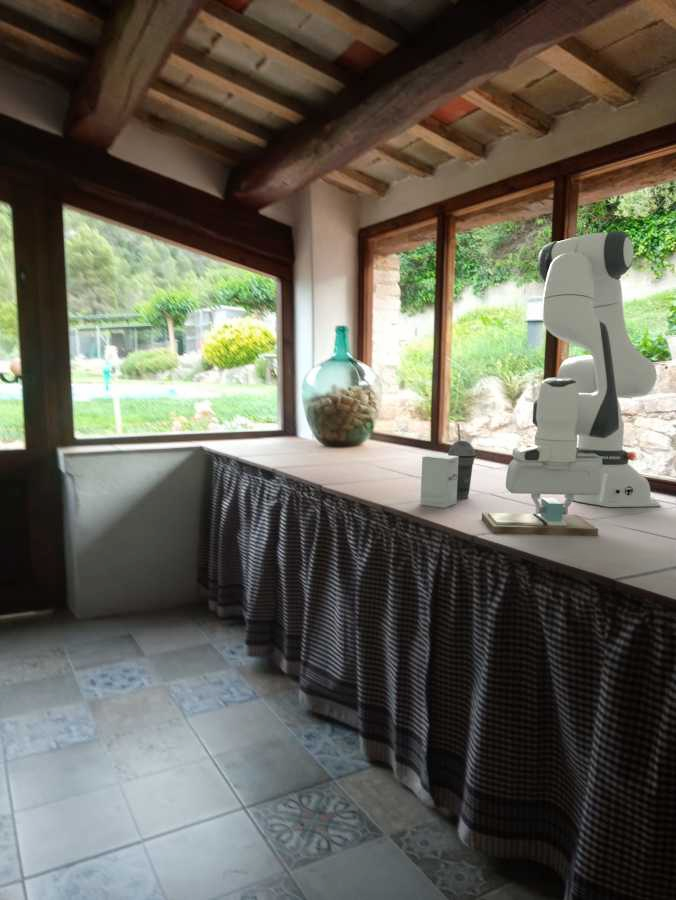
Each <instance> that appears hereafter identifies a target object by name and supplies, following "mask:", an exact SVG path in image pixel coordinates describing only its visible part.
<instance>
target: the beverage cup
mask: <svg viewBox="0 0 676 900" xmlns="http://www.w3.org/2000/svg"><path fill="white" fill-rule="evenodd" d="M456 427H457V436H458V438H457V439H458V440H457V441H455V442H453V444H451V446H450V447H449V449H448V454H447V455H451V456H459V459H458V482H457V500H467V499H468V498H469V493H470V488H471V481H472V474H473V472H472V471H473V465H474V463H475V457H476V455H475V454H476V453H475V449H474V447H473V445H472V444H471V443H470V442H468V441H466V440H461V430H460V424H459V423H458V424H457V426H456Z"/></svg>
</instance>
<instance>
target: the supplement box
mask: <svg viewBox="0 0 676 900" xmlns="http://www.w3.org/2000/svg"><path fill="white" fill-rule="evenodd" d="M421 459H422V460H421V477H420V479H421V480H420V481H421V483H420V502H419V503H420V505H421V506H428V507H433V508H434V507H435V508H442V509H447V508H449V507H451V506H453V505H456V504H457V501H458V499H457V482H458V459H459V456H451V455H448V454H435V453H434V454H430V455H425V456H422V458H421Z"/></svg>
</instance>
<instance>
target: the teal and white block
mask: <svg viewBox="0 0 676 900" xmlns="http://www.w3.org/2000/svg"><path fill="white" fill-rule="evenodd" d="M540 499H541V500H540V501H541V502H540V505H543V506H544V507H545V509H544V514H537V513H536V514H537V515H538V516H539V517H540V518H542V520H544V522H547V525H558V526H567V523H565V522H564V521H563V520H562V517H563V504H564V502H562V501H560V500H558V499H557V498H555V497H554V498H553V497H540Z"/></svg>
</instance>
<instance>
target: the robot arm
mask: <svg viewBox="0 0 676 900" xmlns="http://www.w3.org/2000/svg"><path fill="white" fill-rule="evenodd" d="M633 245H634V244H633V242H632V239H631V237H630V236H629V234H628V233H626V232H625V231H623V230H622V231H621V230H609V231H608V232H594V233H586V234H581V235H580V236H576V237H570V238H566V239H564V240H560V241H559V240H555V241H552V242H550V243H547V244H545V245H544V246H543V247H542V248H541V250H540V252H539V253H538V256H537V270H538V271H537V272H538V274H539V277H540V279H541V280H542V281H543V282H544V283H545V285H544V290H543V299H542V321H543V325H544V327H545V329H546V330H547V331H548V332H549V333H550V334H551V335H552V336H553V337H555V338H557V339H559V340H560V341H563V342H564V343H565V342H566V343H568V344H571V345H573V346H577V347H579V348H581V349H583V350H584V351H586V352H587V353H588V354H590V355H581V356H580V355H579V356H574V357H571V358H567V359H565V360H564V361H562V363H561V365H560V366H559V369H558V371H557V377H556V376H555V377H547V378H545V379H544V380H543V379H542V381H541V382H540V387H539V391H538V395H537V399H535V401H534V402H533V404H532V405H533V409H532V420H531V421H532V423H533V424H534V426H535V427H536V431H535V435H534V442H532V443H529V444H524V445H521V446H518V447H515V448H513V449H512V457H513V459H512V460H511V461H510V462H509V464H508V467H507V472H506V477H505V478H506V479H505V489H507V491H508V492H510V493H511V494H522V495H531V496H530V497H531V499H532V501H533V503H534V505H535V514H544V509H545V507H544V506H543V505H541V502H539V500H540V499H541V495H562V496H564V498H565V501H564V502H563V515H569V514H568V513H569V512H568V511H569V507H570V505H572V503H573V502H574V501H575V502H578V503H583V504H589V505H595V506H596V505H597V506H602V507H605V508H624V507H625V508H630V507H631V508H634V507H635V508H637V507H638V508H639V507H640V508H641V507H642V508H643V507H645V508H646V507H659V506H660V501H659V500H658V499H656V498H655V497H652V496H651V495H652V494H651V487H650V483H649V481H648V479H646V477H645V476H644V475H642V474H641V473H639V471H637V470H636V469H635V468H634V467H633V466H631V465H630V464H629V461H636V459H637V454H636V453H634V452H631V451H630V452H629V451H628V452H627V451H625V450H624V449H623V444H624V431H625V423H624V421H623V419H622V407H621V403H620V401H619V399H620V398H621V399H629V398H637V397H642V396H646V395H648V394H650V392H651V391H652V390H653V388H654V386H655V384H656V381H657V376H658V375H657V369H656V366H655V364H654V363H653V361H652V360H650V358H648V357H646V356H645V355H643V354H642V353H641V352H640V351H639V350H638V349H637V348H636V347H635V345H634V343H633V342H632V340H631V338H630V337H629V334H628V331H627V326H626V320H625V312H624V303H623V302H624V301H623V291H622V285H621V278H622V276H623V275H625V274H626V273H627V272H628V271H629V269H631V267H632V264H633V260H634V252H635V251H634V246H633Z"/></svg>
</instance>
